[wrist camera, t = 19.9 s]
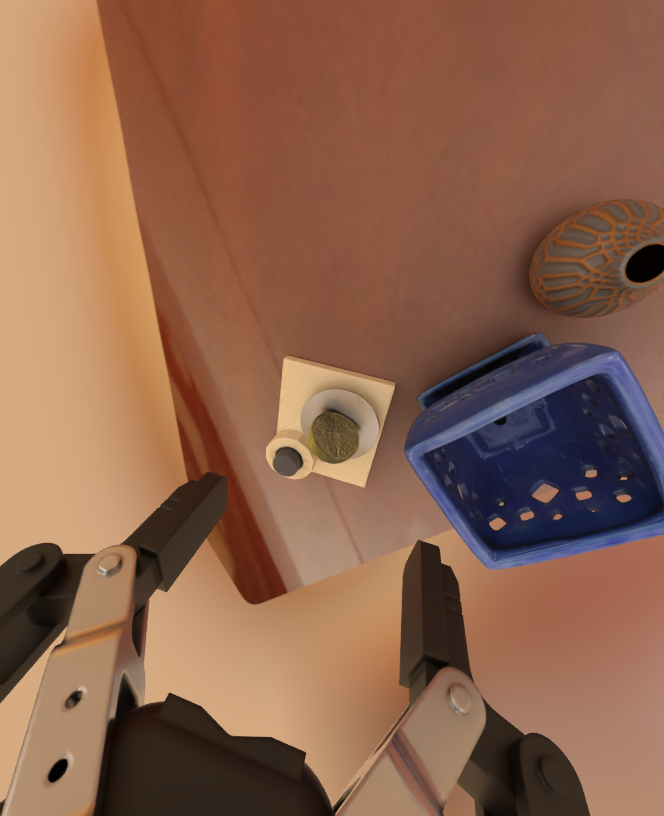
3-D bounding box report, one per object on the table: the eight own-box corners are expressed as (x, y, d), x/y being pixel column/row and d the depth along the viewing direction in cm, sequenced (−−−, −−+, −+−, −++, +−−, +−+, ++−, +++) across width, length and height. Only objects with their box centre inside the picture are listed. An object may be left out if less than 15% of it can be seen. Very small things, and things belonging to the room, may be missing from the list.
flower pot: (400, 388, 30) (394, 454, 20) (537, 309, 24) (631, 345, 14) (464, 478, 33) (487, 577, 23) (600, 428, 27) (715, 530, 17)
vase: (535, 325, 25) (589, 353, 17) (504, 249, 23) (549, 244, 15) (636, 277, 22) (756, 285, 14) (610, 185, 20) (730, 140, 12)
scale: (283, 354, 32) (272, 362, 29) (395, 382, 30) (394, 393, 27) (274, 456, 39) (264, 470, 36) (365, 484, 37) (361, 501, 34)
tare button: (279, 443, 34) (273, 452, 33) (303, 451, 34) (298, 459, 32) (277, 463, 35) (271, 472, 34) (300, 470, 35) (295, 479, 34)
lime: (315, 405, 30) (298, 430, 25) (362, 409, 29) (353, 435, 24) (318, 442, 32) (303, 471, 27) (361, 446, 30) (353, 477, 26)
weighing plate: (306, 378, 29) (305, 380, 29) (389, 400, 28) (388, 402, 28) (297, 445, 33) (296, 447, 33) (369, 466, 32) (368, 468, 32)
